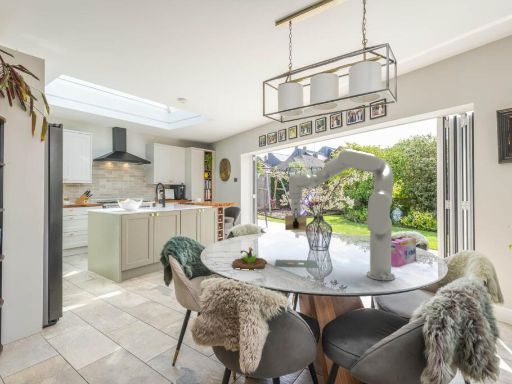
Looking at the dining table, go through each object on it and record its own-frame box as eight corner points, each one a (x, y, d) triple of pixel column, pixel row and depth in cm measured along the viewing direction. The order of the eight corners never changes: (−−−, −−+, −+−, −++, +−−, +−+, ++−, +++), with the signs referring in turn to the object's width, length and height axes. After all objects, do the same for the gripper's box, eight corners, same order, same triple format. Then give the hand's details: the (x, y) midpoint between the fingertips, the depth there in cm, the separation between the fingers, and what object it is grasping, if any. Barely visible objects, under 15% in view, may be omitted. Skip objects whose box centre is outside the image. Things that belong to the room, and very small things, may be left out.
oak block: (306, 230, 155) (306, 216, 155) (285, 230, 157) (285, 216, 157) (306, 228, 160) (305, 215, 160) (285, 228, 162) (285, 215, 162)
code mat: (318, 268, 150) (318, 267, 150) (274, 266, 153) (274, 266, 153) (315, 260, 165) (315, 260, 165) (275, 259, 168) (275, 259, 168)
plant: (231, 271, 146) (231, 250, 146) (233, 261, 166) (232, 243, 166) (268, 270, 147) (268, 250, 147) (265, 261, 167) (265, 242, 166)
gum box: (404, 257, 171) (404, 236, 171) (417, 260, 164) (417, 237, 164) (383, 264, 157) (383, 240, 157) (397, 267, 150) (397, 242, 150)
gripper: (302, 196, 149) (303, 230, 149) (301, 195, 166) (301, 225, 166) (288, 196, 150) (289, 229, 150) (289, 196, 167) (289, 225, 167)
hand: (295, 227), depth 158 cm, fingers closed on oak block, 5 cm apart
